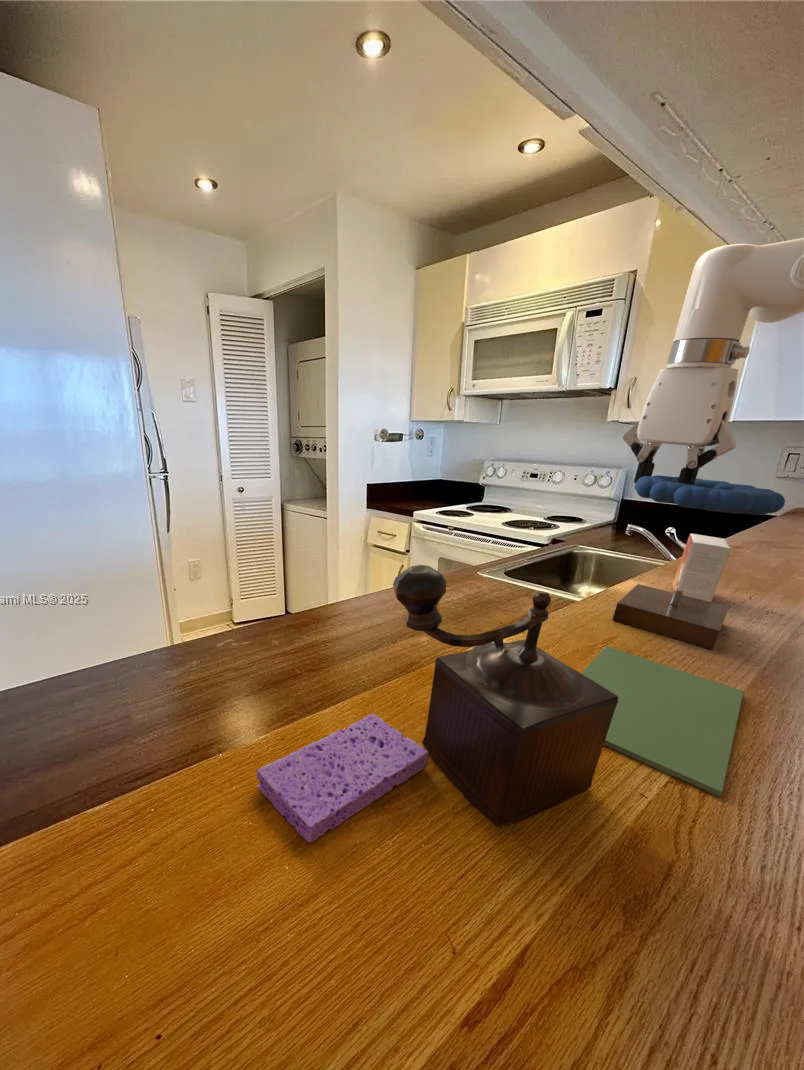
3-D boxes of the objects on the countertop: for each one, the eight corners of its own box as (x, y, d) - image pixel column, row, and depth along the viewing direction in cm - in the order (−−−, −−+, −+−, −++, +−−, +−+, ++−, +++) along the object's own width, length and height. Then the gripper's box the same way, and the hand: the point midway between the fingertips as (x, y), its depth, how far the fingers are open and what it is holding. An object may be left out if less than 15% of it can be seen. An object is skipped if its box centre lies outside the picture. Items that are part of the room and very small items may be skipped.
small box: (671, 585, 91) (689, 532, 87) (706, 592, 89) (726, 538, 85) (672, 598, 85) (692, 541, 81) (710, 605, 82) (732, 547, 78)
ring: (742, 500, 73) (749, 482, 72) (806, 522, 59) (817, 499, 58) (618, 488, 75) (623, 470, 74) (653, 506, 62) (660, 484, 61)
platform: (632, 599, 83) (641, 570, 81) (722, 623, 75) (735, 591, 73) (612, 620, 74) (621, 587, 72) (712, 650, 66) (726, 614, 64)
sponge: (427, 769, 40) (429, 751, 40) (307, 847, 33) (307, 827, 32) (371, 727, 45) (373, 711, 45) (255, 786, 37) (255, 768, 37)
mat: (605, 649, 64) (606, 645, 64) (742, 695, 55) (744, 691, 55) (543, 717, 48) (544, 713, 48) (719, 797, 40) (722, 792, 39)
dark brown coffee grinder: (501, 715, 48) (537, 545, 42) (593, 790, 39) (659, 589, 33) (367, 755, 42) (384, 560, 35) (441, 856, 33) (485, 620, 26)
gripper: (786, 358, 61) (734, 501, 67) (647, 362, 73) (615, 482, 80) (769, 351, 56) (715, 504, 63) (624, 357, 69) (593, 484, 76)
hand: (660, 491), depth 71 cm, fingers closed on ring, 4 cm apart
